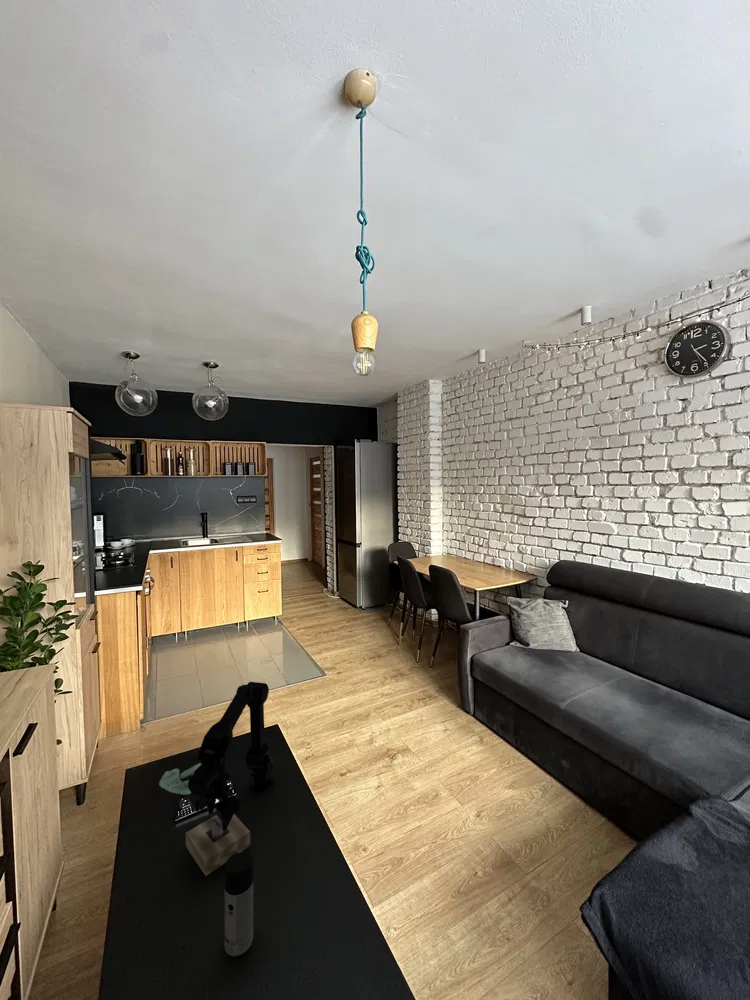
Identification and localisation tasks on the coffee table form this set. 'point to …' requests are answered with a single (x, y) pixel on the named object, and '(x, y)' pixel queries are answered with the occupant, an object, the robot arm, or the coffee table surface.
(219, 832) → the peg
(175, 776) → the cloth
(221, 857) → the socket board
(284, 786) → the coffee table surface
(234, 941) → the spray can
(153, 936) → the coffee table surface
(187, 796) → the robot arm
